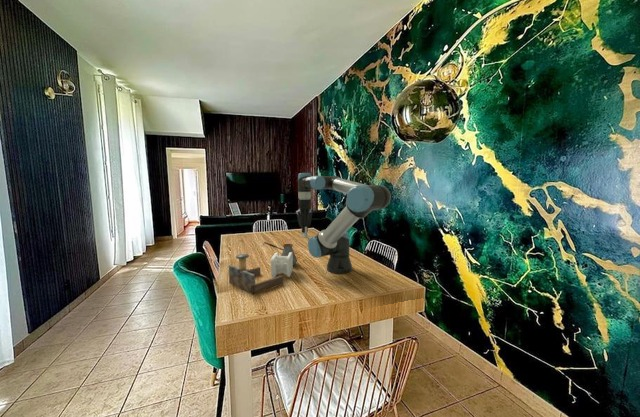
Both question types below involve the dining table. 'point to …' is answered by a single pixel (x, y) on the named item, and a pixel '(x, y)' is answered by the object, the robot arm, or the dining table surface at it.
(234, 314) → the dining table surface
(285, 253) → the coffee pot
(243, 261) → the mushroom drawer knob
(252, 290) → the notched bay
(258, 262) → the dining table surface
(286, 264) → the cable organizer
